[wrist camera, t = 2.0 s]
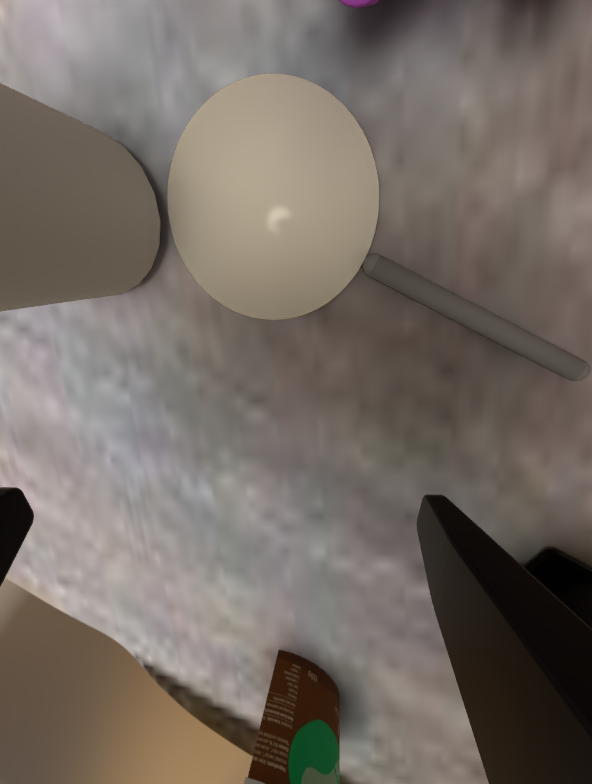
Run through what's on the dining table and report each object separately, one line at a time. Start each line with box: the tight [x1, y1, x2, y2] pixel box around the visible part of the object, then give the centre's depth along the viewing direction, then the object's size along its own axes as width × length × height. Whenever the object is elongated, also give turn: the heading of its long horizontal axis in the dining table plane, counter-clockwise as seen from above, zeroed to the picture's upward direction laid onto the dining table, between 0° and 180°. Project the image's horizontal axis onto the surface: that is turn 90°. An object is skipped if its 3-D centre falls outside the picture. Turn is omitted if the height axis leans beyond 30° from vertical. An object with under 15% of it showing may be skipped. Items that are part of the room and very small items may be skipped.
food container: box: [244, 650, 339, 784], centre depth 24 cm, size 12×6×10 cm, turn 1°
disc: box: [167, 74, 379, 320], centre depth 16 cm, size 10×10×1 cm
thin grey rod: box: [363, 254, 590, 381], centre depth 16 cm, size 11×1×1 cm, turn 65°
